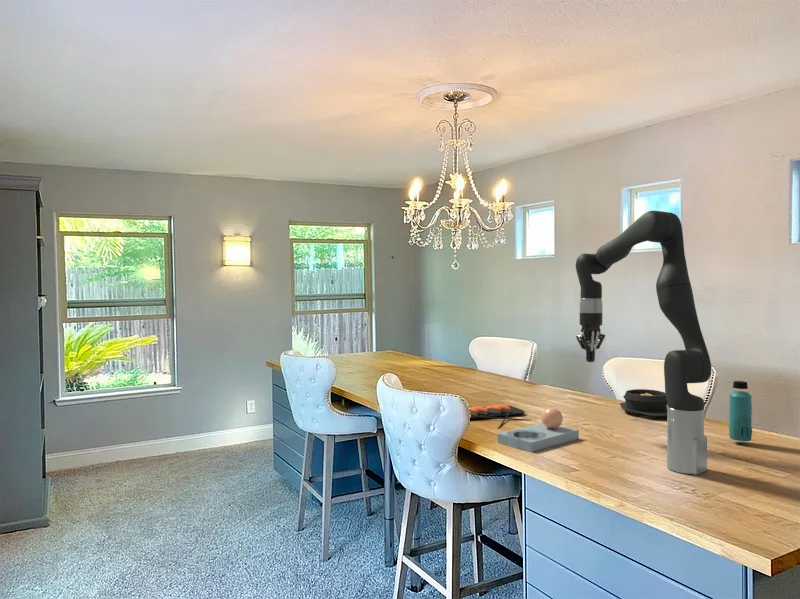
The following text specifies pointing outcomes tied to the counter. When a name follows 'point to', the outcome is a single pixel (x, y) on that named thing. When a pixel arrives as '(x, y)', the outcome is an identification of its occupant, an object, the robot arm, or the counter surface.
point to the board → (537, 437)
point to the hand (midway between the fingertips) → (590, 361)
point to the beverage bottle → (740, 413)
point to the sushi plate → (495, 412)
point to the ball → (552, 418)
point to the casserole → (645, 402)
